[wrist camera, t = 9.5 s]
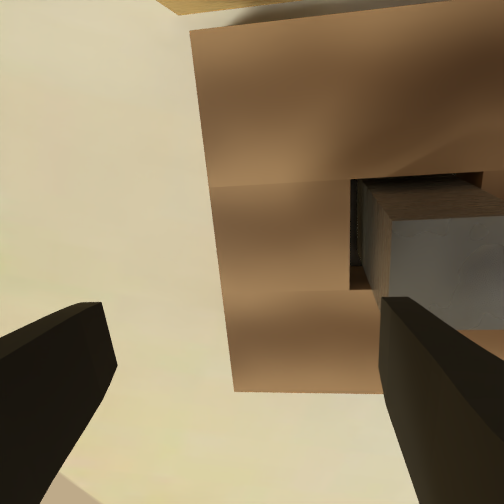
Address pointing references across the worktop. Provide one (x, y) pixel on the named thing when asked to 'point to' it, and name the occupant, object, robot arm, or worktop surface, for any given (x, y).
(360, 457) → the worktop surface
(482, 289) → the square bit
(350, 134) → the plate
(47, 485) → the robot arm
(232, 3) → the block
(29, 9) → the worktop surface
